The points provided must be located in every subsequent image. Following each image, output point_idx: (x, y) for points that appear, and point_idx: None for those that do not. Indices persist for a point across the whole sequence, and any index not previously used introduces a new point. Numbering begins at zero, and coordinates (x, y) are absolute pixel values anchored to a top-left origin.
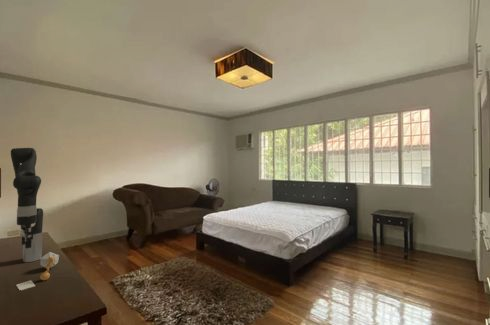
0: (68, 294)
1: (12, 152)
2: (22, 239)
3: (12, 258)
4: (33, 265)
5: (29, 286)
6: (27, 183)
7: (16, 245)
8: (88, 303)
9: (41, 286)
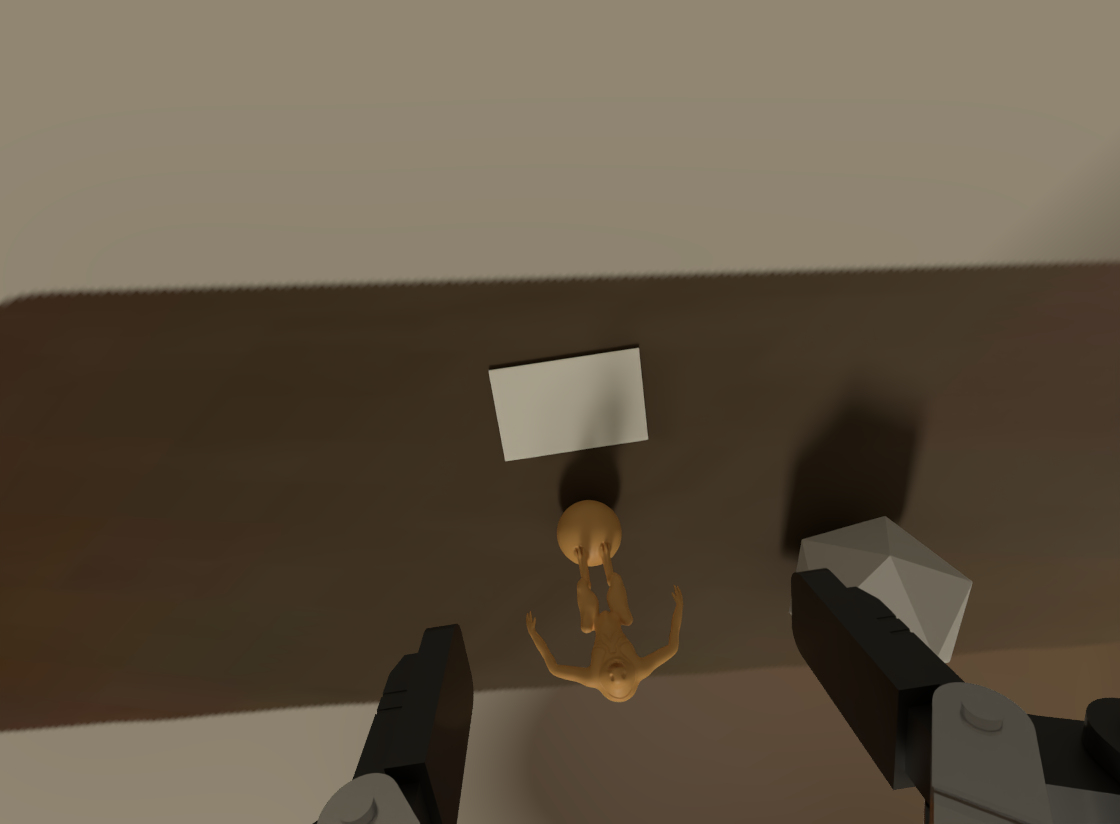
0: (187, 618)
1: None
2: (863, 662)
3: None
4: (1026, 459)
5: (519, 427)
6: None
7: None
8: None
9: (465, 493)
